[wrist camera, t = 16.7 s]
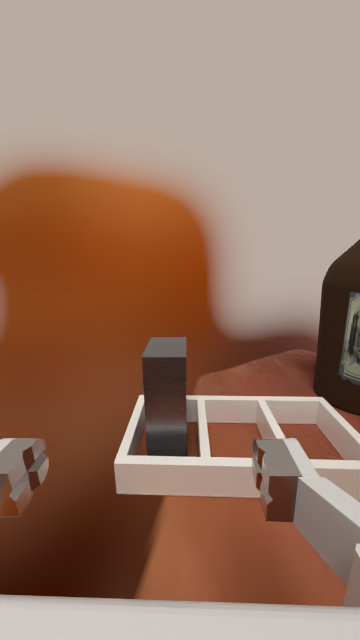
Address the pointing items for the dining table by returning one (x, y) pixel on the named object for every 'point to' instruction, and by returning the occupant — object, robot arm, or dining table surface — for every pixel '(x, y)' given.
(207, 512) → the dining table surface
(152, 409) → the dark grey metallic block
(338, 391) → the olive oil
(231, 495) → the rack
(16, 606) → the robot arm
